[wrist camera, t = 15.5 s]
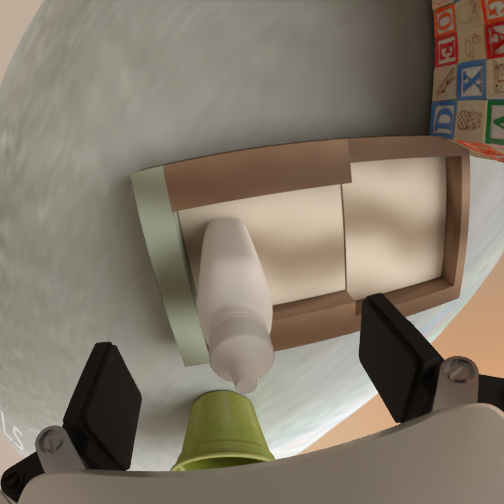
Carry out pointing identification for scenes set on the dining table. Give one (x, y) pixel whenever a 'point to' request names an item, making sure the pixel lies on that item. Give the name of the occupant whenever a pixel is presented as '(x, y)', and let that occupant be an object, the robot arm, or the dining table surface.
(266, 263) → the divided wooden tray
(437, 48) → the stack of blocks
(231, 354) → the eye dropper bottle
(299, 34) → the dining table surface
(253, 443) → the plant pot
